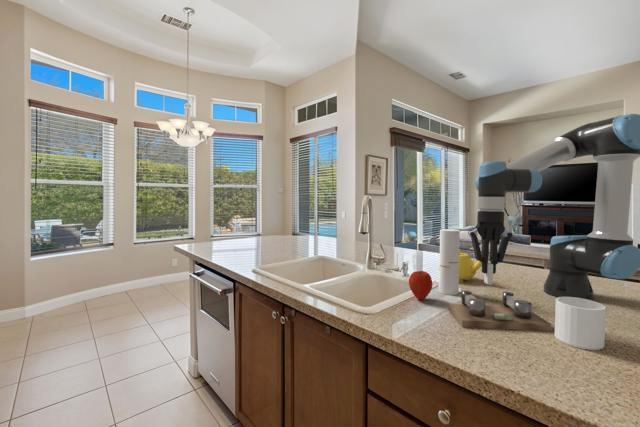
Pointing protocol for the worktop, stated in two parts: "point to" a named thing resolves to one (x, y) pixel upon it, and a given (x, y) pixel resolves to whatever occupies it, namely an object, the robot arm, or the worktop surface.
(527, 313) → the knob
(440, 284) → the cylindrical container
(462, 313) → the levelling board
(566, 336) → the mug
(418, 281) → the apple
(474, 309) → the knob
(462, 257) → the teapot
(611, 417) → the worktop surface
